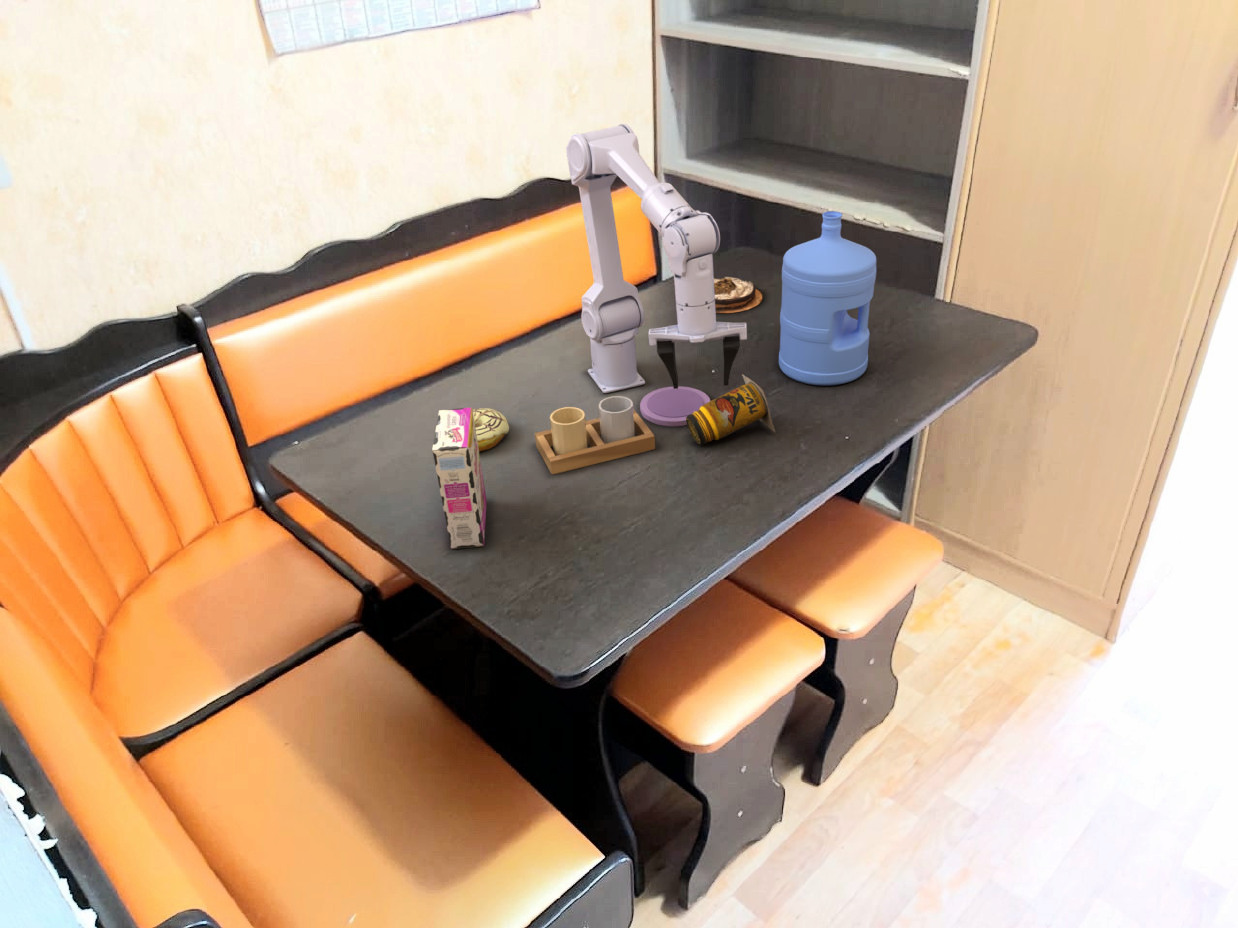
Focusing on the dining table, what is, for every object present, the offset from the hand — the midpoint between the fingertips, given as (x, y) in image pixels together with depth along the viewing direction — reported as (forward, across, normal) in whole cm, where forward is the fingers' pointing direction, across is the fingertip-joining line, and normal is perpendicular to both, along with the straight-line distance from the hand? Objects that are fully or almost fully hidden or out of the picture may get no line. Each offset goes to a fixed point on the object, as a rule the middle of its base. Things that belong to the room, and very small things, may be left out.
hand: (701, 384), depth 141 cm
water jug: (+10, +21, +26) cm, 35 cm away
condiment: (+6, +9, +5) cm, 12 cm away
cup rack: (+10, -18, -1) cm, 20 cm away
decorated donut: (+9, -38, +2) cm, 39 cm away
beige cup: (+10, -21, -2) cm, 23 cm away
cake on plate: (+7, +4, +58) cm, 58 cm away
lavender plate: (+10, -5, +12) cm, 16 cm away
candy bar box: (+11, -34, -21) cm, 41 cm away
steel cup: (+10, -14, +1) cm, 17 cm away
